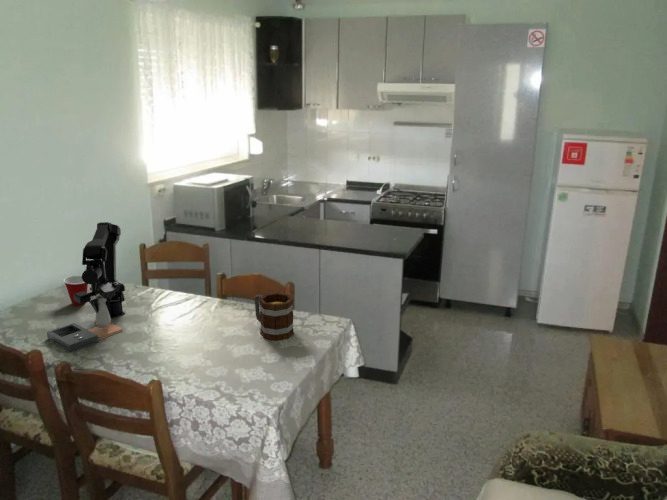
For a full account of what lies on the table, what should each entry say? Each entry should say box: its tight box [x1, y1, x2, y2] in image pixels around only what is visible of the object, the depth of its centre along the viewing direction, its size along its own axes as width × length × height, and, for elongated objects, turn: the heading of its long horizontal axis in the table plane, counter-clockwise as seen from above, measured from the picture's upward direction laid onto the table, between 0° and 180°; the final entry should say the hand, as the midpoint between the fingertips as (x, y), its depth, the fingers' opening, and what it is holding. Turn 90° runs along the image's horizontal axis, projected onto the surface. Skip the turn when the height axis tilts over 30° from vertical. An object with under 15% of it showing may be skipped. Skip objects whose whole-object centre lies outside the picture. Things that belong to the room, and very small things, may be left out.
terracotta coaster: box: [87, 322, 124, 340], centre depth 219 cm, size 10×10×1 cm
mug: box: [254, 292, 295, 342], centre depth 219 cm, size 20×14×15 cm
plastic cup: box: [62, 275, 89, 307], centre depth 246 cm, size 11×11×12 cm
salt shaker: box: [95, 295, 112, 328], centre depth 217 cm, size 6×6×13 cm
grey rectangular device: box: [46, 322, 99, 353], centre depth 211 cm, size 11×18×3 cm, turn 52°
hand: (102, 312), depth 217 cm, fingers closed on salt shaker, 3 cm apart
